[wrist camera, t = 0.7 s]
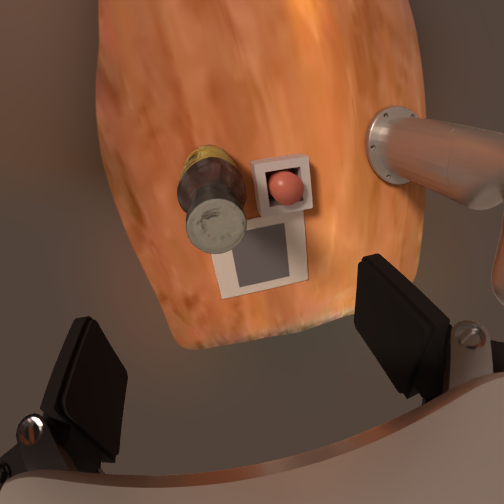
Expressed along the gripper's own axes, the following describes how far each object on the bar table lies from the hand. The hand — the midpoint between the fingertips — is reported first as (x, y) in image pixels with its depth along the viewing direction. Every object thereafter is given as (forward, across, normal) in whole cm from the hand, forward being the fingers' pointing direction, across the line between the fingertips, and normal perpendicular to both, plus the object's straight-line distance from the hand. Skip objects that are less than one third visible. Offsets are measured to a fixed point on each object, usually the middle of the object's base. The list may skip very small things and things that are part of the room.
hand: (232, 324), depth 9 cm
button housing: (+30, -9, +4) cm, 31 cm away
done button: (+28, -9, +4) cm, 30 cm away
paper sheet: (+30, -5, +14) cm, 33 cm away
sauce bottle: (+30, 0, 0) cm, 30 cm away
